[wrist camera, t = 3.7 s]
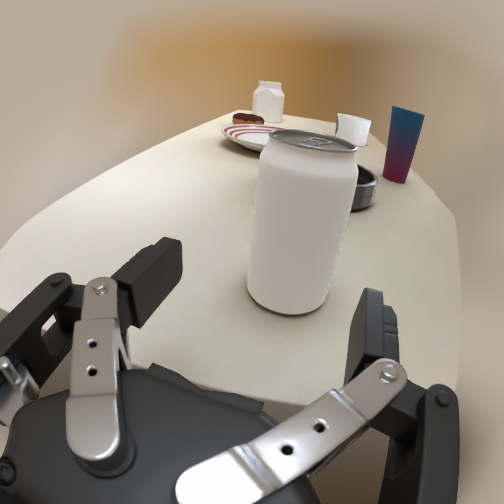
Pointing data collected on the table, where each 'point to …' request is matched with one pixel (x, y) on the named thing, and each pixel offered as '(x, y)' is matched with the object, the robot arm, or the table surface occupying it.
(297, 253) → the can
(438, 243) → the table surface
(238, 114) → the donut
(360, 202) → the pan
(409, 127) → the cup
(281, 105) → the jar
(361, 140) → the mug
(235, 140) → the dinner plate
